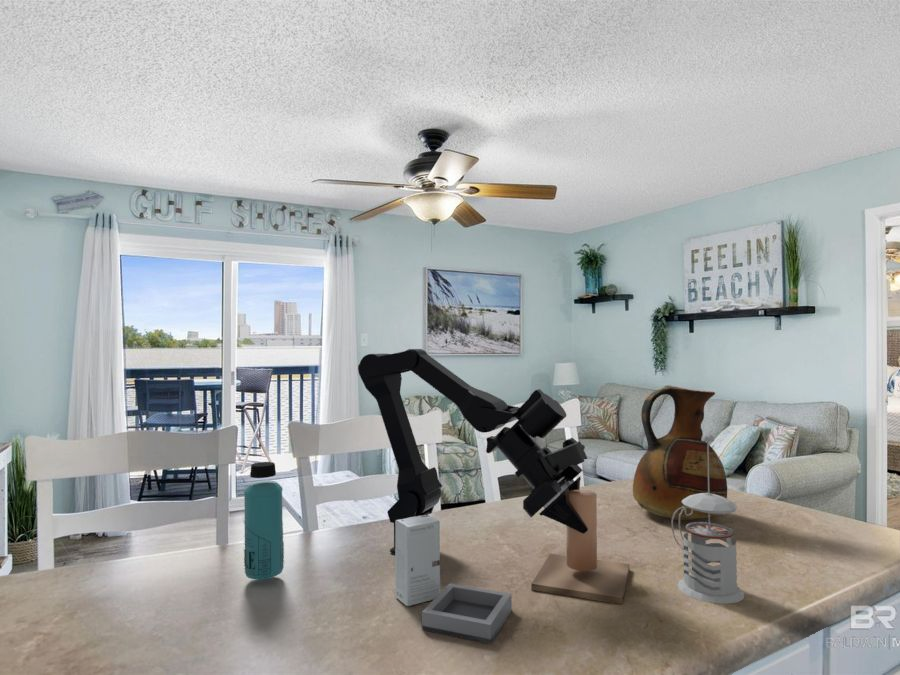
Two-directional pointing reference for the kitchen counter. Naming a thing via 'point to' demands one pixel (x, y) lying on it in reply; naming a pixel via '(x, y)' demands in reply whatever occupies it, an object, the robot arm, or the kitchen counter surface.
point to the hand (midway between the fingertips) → (589, 526)
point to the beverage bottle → (263, 524)
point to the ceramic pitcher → (677, 458)
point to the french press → (709, 550)
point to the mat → (583, 580)
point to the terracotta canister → (577, 543)
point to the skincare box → (417, 559)
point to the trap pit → (467, 613)
